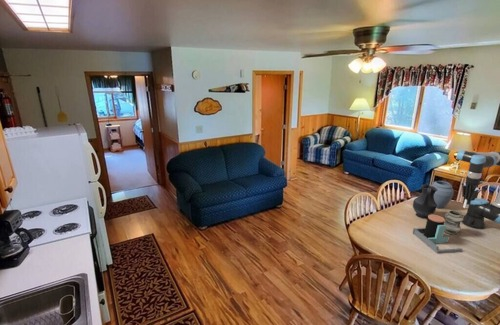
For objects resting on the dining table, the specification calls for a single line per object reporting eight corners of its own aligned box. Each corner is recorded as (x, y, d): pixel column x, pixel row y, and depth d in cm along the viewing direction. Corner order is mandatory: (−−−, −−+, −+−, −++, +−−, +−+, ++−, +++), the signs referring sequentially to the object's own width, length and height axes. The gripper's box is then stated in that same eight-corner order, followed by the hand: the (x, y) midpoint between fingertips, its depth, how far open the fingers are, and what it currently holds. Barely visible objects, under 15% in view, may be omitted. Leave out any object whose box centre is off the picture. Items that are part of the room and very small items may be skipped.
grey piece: (435, 231, 217) (436, 227, 215) (461, 251, 193) (463, 246, 192) (412, 233, 215) (413, 228, 213) (436, 253, 191) (438, 248, 190)
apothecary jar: (439, 232, 216) (444, 212, 210) (442, 226, 224) (447, 207, 218) (458, 238, 208) (463, 218, 202) (460, 232, 216) (465, 212, 211)
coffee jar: (442, 243, 203) (447, 222, 197) (426, 241, 205) (431, 220, 199) (435, 235, 212) (441, 215, 207) (421, 233, 214) (425, 213, 209)
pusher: (446, 241, 204) (450, 224, 199) (447, 242, 203) (452, 225, 198) (426, 242, 203) (430, 225, 198) (428, 244, 201) (432, 226, 196)
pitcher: (433, 214, 243) (440, 184, 234) (433, 225, 226) (441, 192, 217) (411, 209, 252) (417, 180, 242) (410, 219, 235) (416, 188, 226)
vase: (430, 210, 251) (436, 186, 243) (421, 201, 269) (426, 178, 261) (453, 212, 248) (460, 187, 240) (443, 202, 266) (449, 179, 258)
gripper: (460, 174, 191) (453, 203, 198) (477, 181, 178) (468, 212, 186) (470, 173, 191) (462, 202, 199) (487, 180, 179) (478, 211, 187)
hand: (465, 207), depth 193 cm, fingers closed
